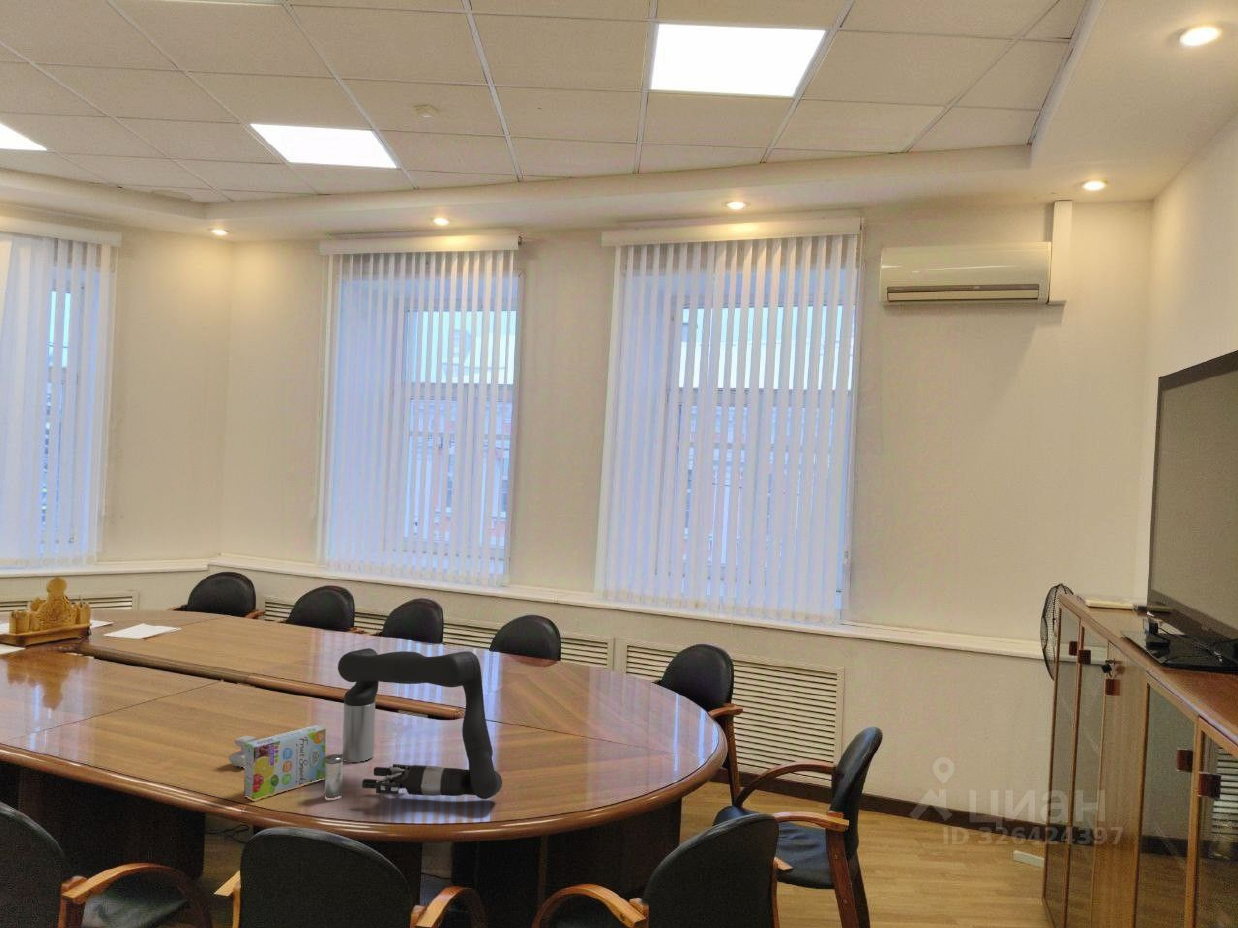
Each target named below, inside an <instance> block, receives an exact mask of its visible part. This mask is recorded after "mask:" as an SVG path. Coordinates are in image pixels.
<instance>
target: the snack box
mask: <svg viewBox="0 0 1238 928" xmlns="http://www.w3.org/2000/svg"><path fill="white" fill-rule="evenodd" d="M326 737H327V732H326V728H325V727H323V726H320V725H317V724H315V725H311V726H307V727H303V728H300V729H299V728H298V729H296V730H291V731H288V732H283V733H278V734H275V735H272V736H269V737H263V738H261V739H260V738H259V739H256V740H255V741H251V742H247V743H245V768H244V776H243V777H244V782H243V784H244V785H243V786H244V789H243V790H244V792H243V794H244V795H245V796H248V797H250V798H252V799H256V798H259V797H262V796H266V795H269V794H273V793H275V792H279V791H282V790H286V789H288V788H292V787H295V786H297V785H301V784H304V783H308V782H312V781H315V780H319V779H323V778H325V757H326V745H327V743H326V742H327V741H326V739H327V738H326ZM244 795H243V796H244Z"/></svg>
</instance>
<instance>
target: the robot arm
mask: <svg viewBox="0 0 1238 928" xmlns="http://www.w3.org/2000/svg"><path fill="white" fill-rule="evenodd" d="M337 671H338V674H339V676H340V677H341V678H342V679H343V680H344V681H346V682H347V683H355V684H354V685H353V686H352V687H351V688H350V689H349V690H347V691H346V692H345V693H344V695H343V725H342V726H343V729H342V755H343V759H344V760H346V761H350V762H349V763H352V762H357V763H360V762H359V761H364V762H366V761H365V760H368V759H370V758H372V757H373V755H374V754H375V752H374V750H375V728H376V727H375V722H376V721H375V720H376V696H377V694H378V692H379V691H378V690H379V682H380V683H381V682H382V683H391V684H392V683H393V684H403V685H404V684H405V685H417V684H418V685H419V684H431V685H435V686H439V687H445V688H459V687H463V690H464V695H465V711H464V715H463V721H462V729H461V730H462V731H461V733H462V734H461V735H462V740H463V745H464V749H465V753H466V757H467V760H468V761H467V762H468V769H465V768H464V769H463V768H457V767H456V768H455V767H442V766H437V765H420V764H413V765H411V764H410V765H409V764H399V763H394V764H392V766H388V767H382V766H375V767H374V768H373V776H375V777H383V778H381V779H379V778H378V779H375V778H374V779H372V778H364V779H363V780H362V781H361V783H362V784H361V787H362V788H363V789H373V790H375V793H376V794H387V795H389V794H390V795H396V794H399V792H400V791H399V790H401V789H405V790H406V792H407V794H408V795H412V796H414V795H415V796H427V797H429V796H430V797H435V796H437V797H438V796H447V797H448V796H449V797H458V796H464V795H465V796H476V797H477V798H478V799H482V800H487V799H488V800H489V799H490V798H492V797H494V796H495V795H497V794H498V793H499V792H500V790H501V789H502V786H503V778H502V775H500V773H499V772H498V771H496V770H495V766H494V762H493V755H494V754H493V750H494V749H493V745H492V742H491V738H490V734H489V729H488V725H487V719H486V712H485V701H484V700H485V699H484V688H483V687H484V686H483V679H482V676H483V675H482V669H481V664H480V660H479V659H478V655H476V654H475V653H474V652H472V651H469V650H467V651H466V650H465V651H458V652H453V653H448V654H447V653H446V654H443V655H437V656H435V655H434V656H425V655H423V654H422V653H420V652H418V651H417V652H415V651H405V650H404V651H402V650H400V651H393V652H385V653H380V654H378V652H377V651H376V650H375V649H373V648H371V647H369V648H362V649H358V650H351V651H349V652H347V653H345V654H344V655H343V656H341V658H339V661H338V663H337ZM373 758H374V757H373ZM373 758H372V759H373ZM344 760H343V761H344ZM370 760H371V759H370ZM346 761H345V762H346ZM368 761H369V760H368Z"/></svg>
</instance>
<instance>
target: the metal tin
mask: <svg viewBox="0 0 1238 928" xmlns="http://www.w3.org/2000/svg"><path fill="white" fill-rule="evenodd" d="M343 767H344V760H343V754H339V753H333V754H329V755H325V780H324V797H325V796H326V797H327V798H335V797H338V796H341V795H342V796H343V778H344V777H343V773H344V772H343V769H344V768H343Z"/></svg>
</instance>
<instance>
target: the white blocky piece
mask: <svg viewBox="0 0 1238 928" xmlns="http://www.w3.org/2000/svg"><path fill="white" fill-rule="evenodd" d="M255 740H257V736H256V737H255V736H251V735H243V736H241V737H238V738H236V739H235V740H234V744H235V745H236V747H238V748H240V750H239V751H237V752H234V753H231V754H229V755H228V760H229V762H230V764H232V765H233V766H234V765H235V766H234V767H237V766H239V767H238V768H241V767H245V743H247V742H251V741H255Z"/></svg>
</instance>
